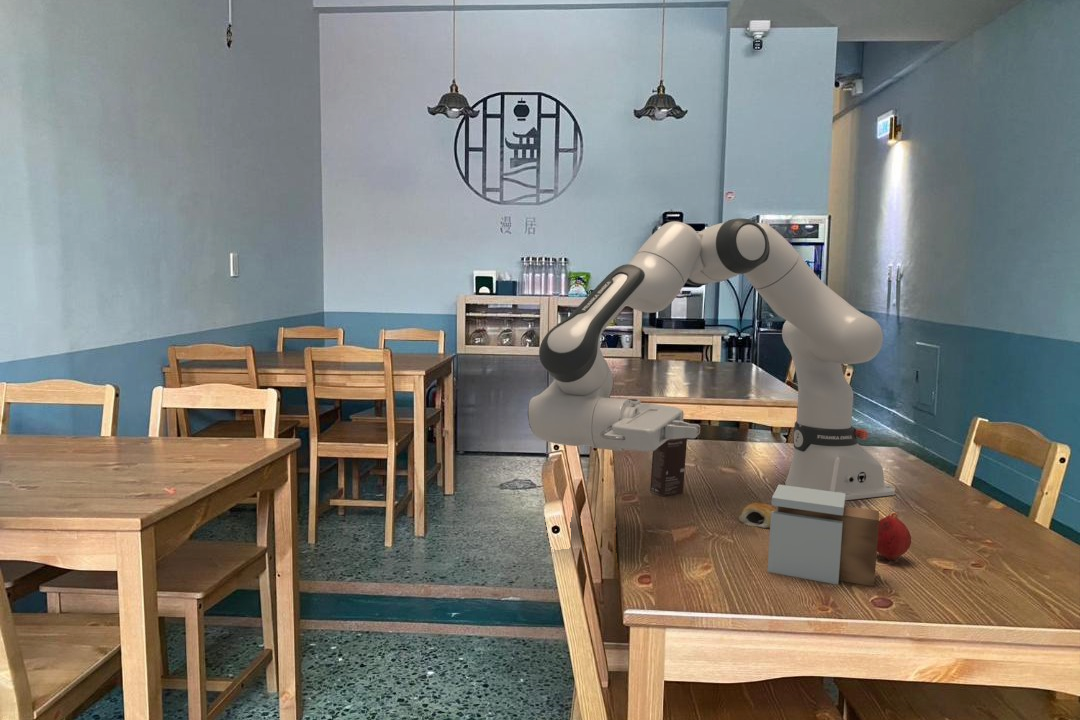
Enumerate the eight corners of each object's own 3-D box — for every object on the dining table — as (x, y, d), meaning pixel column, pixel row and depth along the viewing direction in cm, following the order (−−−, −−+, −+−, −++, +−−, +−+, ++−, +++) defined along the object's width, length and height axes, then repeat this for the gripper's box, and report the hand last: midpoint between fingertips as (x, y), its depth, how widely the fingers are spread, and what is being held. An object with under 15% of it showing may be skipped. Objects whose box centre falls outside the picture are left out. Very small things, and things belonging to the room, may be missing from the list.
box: (664, 497, 148) (666, 440, 147) (649, 492, 152) (651, 435, 150) (685, 493, 151) (688, 437, 150) (670, 488, 155) (672, 433, 154)
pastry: (754, 512, 140) (755, 493, 140) (789, 520, 136) (790, 500, 136) (736, 524, 132) (737, 504, 132) (773, 533, 129) (774, 512, 128)
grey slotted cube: (767, 572, 110) (771, 497, 109) (774, 555, 117) (778, 484, 116) (838, 585, 106) (843, 507, 104) (840, 566, 113) (845, 493, 112)
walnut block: (774, 568, 111) (778, 505, 110) (778, 557, 115) (782, 497, 114) (874, 586, 105) (879, 520, 104) (874, 574, 110) (878, 510, 109)
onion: (890, 569, 112) (894, 519, 112) (861, 556, 118) (864, 508, 117) (917, 564, 115) (921, 515, 114) (886, 551, 120) (890, 505, 119)
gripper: (596, 416, 113) (683, 424, 107) (634, 397, 131) (711, 402, 125) (595, 456, 113) (682, 465, 108) (634, 431, 132) (710, 438, 126)
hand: (698, 431), depth 117 cm, fingers closed
